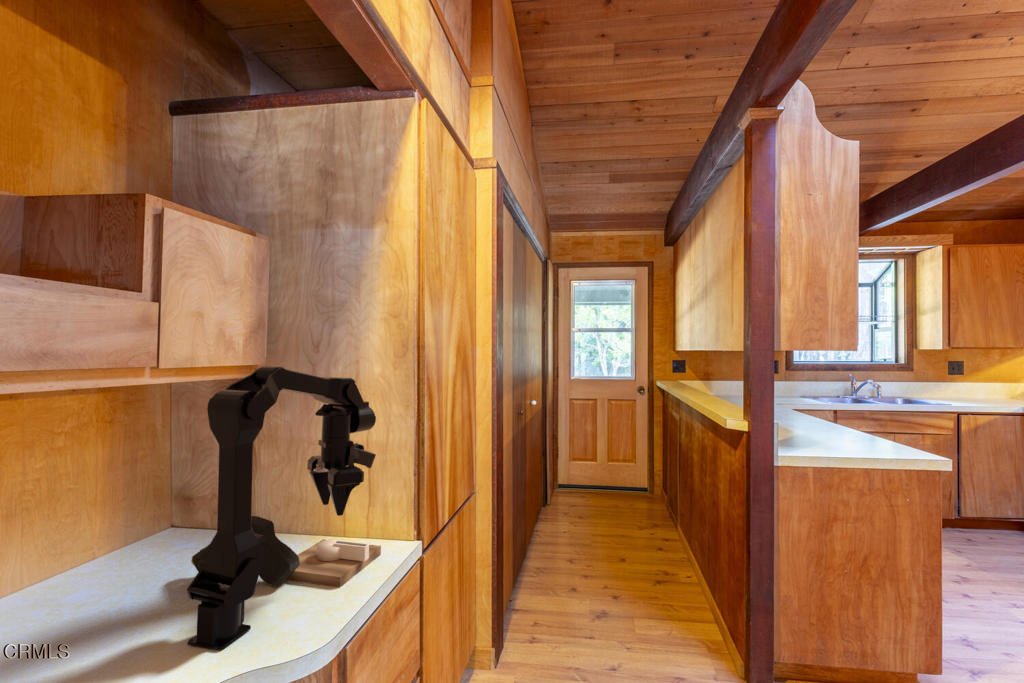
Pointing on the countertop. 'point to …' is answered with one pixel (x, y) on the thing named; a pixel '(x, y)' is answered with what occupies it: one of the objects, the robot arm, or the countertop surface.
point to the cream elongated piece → (342, 550)
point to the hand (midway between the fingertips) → (332, 509)
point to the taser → (277, 554)
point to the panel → (329, 567)
